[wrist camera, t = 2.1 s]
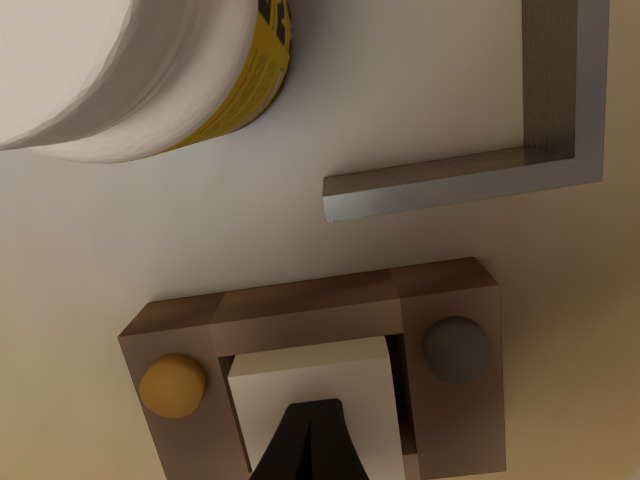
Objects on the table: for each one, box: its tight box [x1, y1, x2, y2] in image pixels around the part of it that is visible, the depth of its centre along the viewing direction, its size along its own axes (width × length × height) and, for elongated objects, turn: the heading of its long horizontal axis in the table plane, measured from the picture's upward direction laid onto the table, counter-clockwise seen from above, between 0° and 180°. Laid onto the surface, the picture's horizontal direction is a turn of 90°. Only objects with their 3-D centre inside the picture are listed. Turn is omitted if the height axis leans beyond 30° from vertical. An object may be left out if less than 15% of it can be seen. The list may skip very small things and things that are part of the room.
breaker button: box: [228, 335, 405, 480], centre depth 12 cm, size 4×4×2 cm
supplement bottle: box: [0, 0, 294, 164], centre depth 7 cm, size 5×5×8 cm
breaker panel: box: [118, 257, 506, 480], centre depth 13 cm, size 10×6×3 cm, turn 99°
